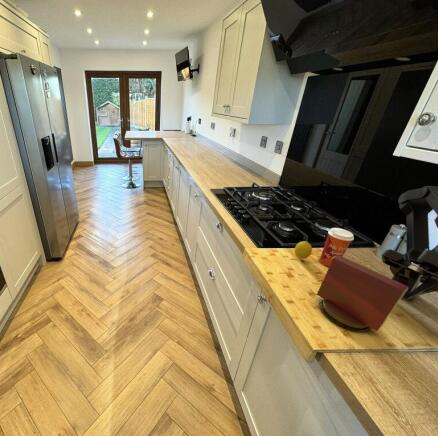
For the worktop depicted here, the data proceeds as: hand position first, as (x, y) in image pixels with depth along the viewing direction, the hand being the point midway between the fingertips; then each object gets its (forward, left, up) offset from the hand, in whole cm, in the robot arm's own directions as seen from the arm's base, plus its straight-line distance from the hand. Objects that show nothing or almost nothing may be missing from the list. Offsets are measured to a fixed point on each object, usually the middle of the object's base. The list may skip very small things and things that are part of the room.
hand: (405, 298), depth 62 cm
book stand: (+6, -9, -10) cm, 15 cm away
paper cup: (-20, -21, -10) cm, 30 cm away
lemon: (-14, -29, -10) cm, 33 cm away
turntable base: (+6, -9, -10) cm, 15 cm away
